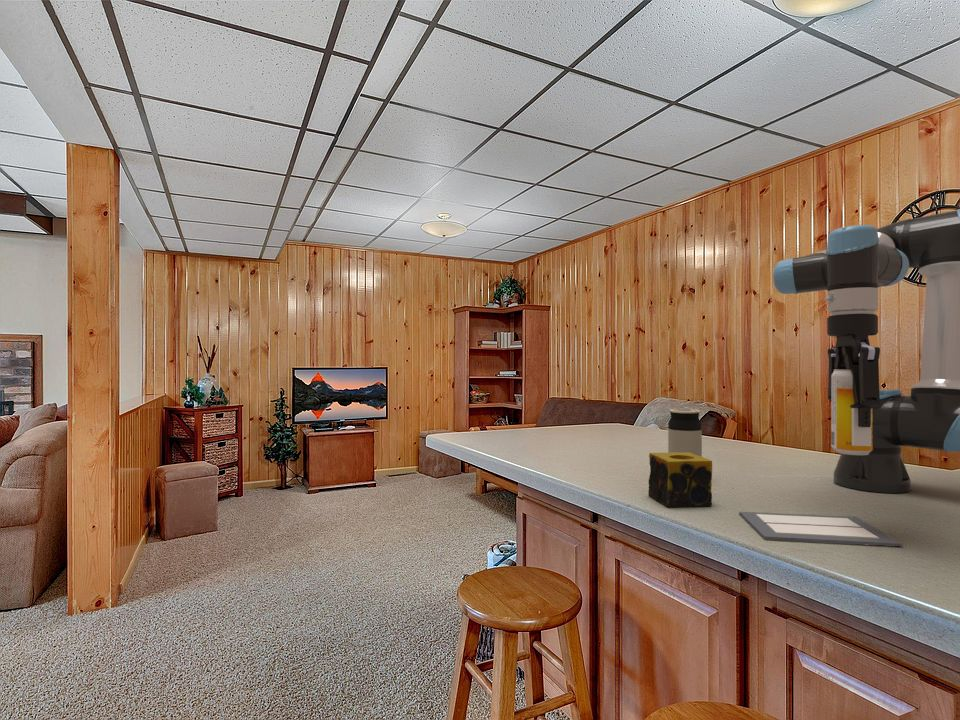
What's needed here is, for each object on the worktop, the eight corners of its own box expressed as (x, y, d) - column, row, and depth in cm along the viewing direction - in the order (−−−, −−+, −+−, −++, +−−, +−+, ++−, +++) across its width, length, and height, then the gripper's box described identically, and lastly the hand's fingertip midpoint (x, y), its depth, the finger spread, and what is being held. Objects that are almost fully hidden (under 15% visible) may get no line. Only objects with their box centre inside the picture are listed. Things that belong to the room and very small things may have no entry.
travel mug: (667, 482, 134) (667, 410, 134) (669, 475, 142) (668, 408, 142) (701, 484, 131) (701, 411, 131) (701, 478, 139) (701, 409, 139)
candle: (647, 496, 121) (647, 452, 121) (690, 495, 122) (690, 451, 122) (666, 508, 111) (666, 461, 111) (713, 507, 112) (713, 460, 112)
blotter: (856, 519, 103) (856, 515, 103) (902, 547, 88) (902, 542, 88) (739, 514, 107) (739, 510, 107) (764, 539, 92) (764, 535, 92)
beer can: (879, 456, 92) (879, 369, 92) (840, 455, 94) (840, 369, 93) (862, 450, 98) (862, 369, 98) (825, 449, 99) (825, 369, 99)
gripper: (807, 318, 106) (807, 434, 106) (855, 309, 87) (855, 451, 87) (849, 317, 104) (849, 435, 104) (907, 308, 86) (907, 452, 86)
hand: (852, 442), depth 96 cm, fingers closed on beer can, 6 cm apart
